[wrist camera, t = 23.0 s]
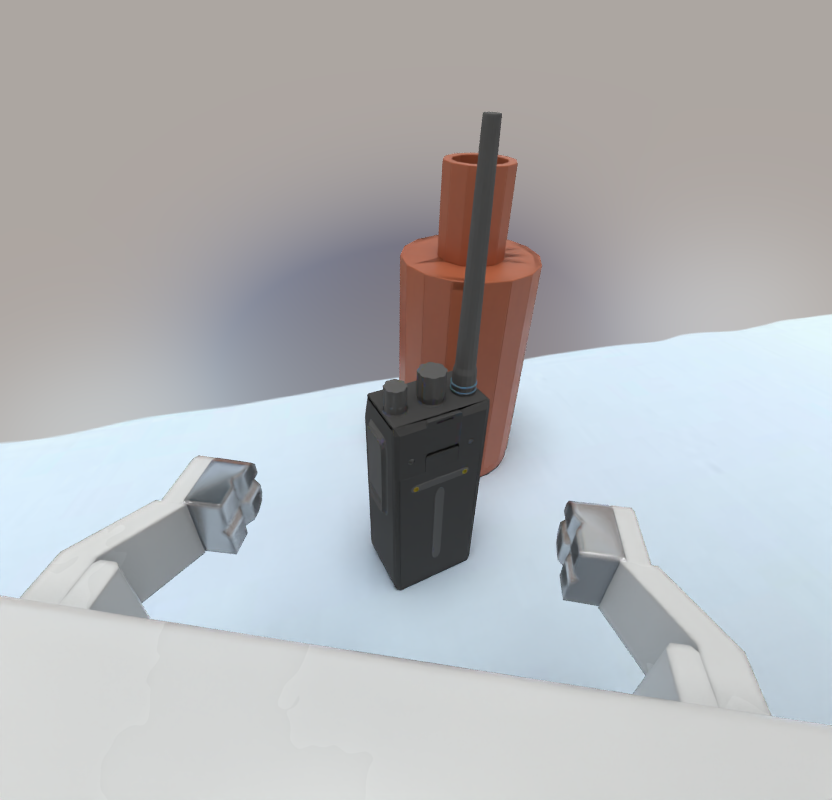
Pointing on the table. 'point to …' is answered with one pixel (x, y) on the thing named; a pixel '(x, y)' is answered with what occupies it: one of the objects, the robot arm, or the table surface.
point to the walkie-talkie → (435, 426)
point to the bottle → (443, 289)
